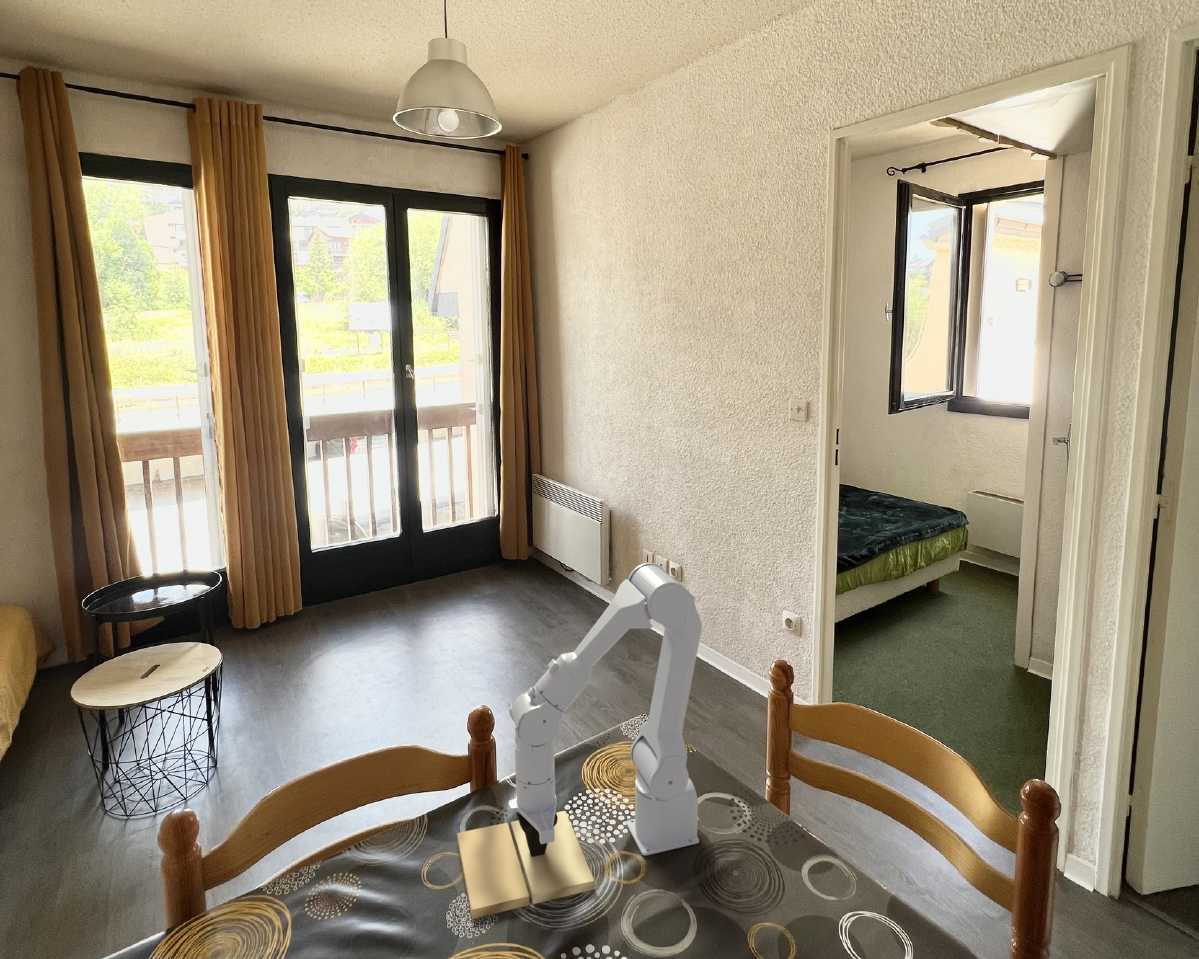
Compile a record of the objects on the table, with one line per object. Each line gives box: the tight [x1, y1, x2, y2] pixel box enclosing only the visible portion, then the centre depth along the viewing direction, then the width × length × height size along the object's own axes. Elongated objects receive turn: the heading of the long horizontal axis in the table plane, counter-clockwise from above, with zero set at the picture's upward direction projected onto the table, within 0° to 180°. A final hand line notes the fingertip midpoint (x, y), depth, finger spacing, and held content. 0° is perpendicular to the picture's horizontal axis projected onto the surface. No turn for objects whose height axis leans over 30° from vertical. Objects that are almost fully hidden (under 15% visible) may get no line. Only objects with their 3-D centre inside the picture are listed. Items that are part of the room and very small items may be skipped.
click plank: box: [510, 810, 595, 905], centre depth 113 cm, size 9×16×2 cm, turn 18°
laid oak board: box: [456, 822, 530, 920], centre depth 111 cm, size 8×16×2 cm, turn 18°
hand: (537, 852), depth 113 cm, fingers closed, pressing on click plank
